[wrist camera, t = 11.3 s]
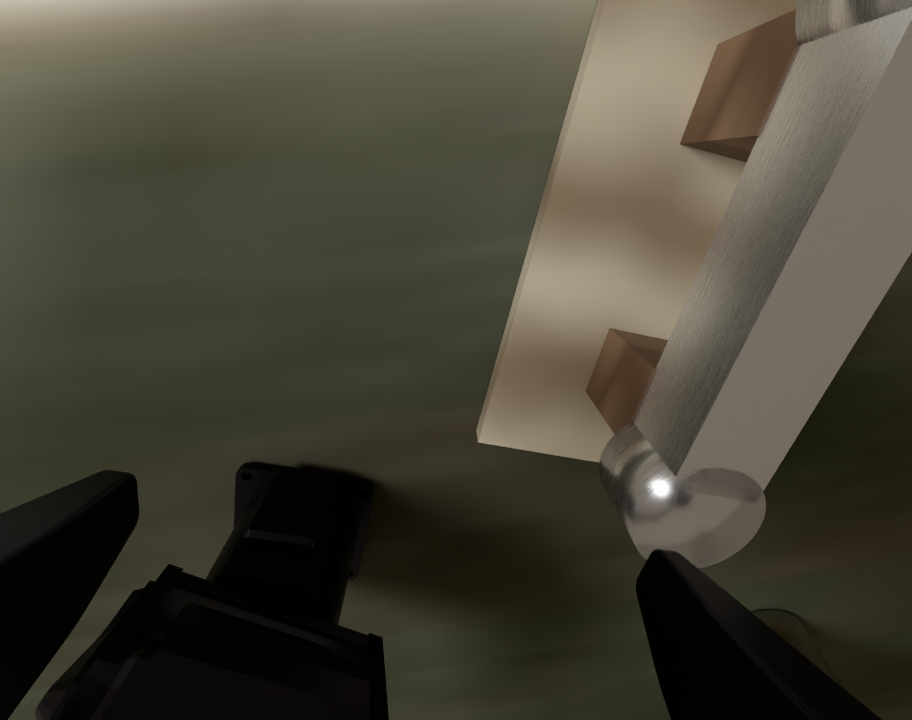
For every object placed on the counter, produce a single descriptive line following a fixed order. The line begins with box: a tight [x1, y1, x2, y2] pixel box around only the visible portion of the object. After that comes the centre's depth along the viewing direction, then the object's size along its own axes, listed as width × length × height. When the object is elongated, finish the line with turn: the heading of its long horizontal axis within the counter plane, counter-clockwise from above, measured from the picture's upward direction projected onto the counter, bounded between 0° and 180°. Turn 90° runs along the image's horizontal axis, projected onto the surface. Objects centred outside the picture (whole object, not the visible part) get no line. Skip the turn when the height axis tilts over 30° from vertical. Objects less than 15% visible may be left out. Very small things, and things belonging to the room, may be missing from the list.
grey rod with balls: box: [599, 0, 912, 569], centre depth 12 cm, size 18×4×3 cm, turn 167°
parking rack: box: [476, 0, 798, 462], centre depth 16 cm, size 20×11×5 cm, turn 167°
